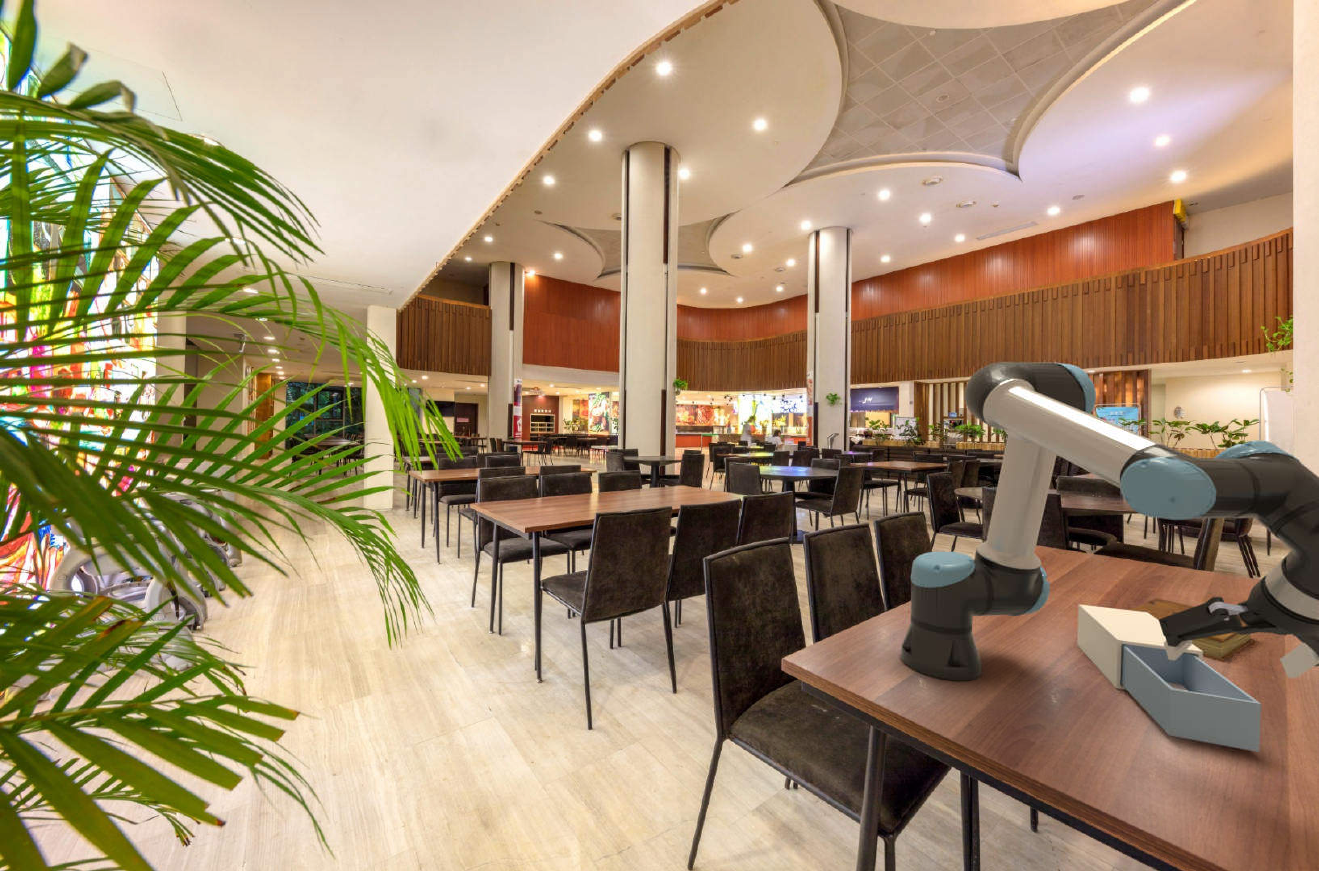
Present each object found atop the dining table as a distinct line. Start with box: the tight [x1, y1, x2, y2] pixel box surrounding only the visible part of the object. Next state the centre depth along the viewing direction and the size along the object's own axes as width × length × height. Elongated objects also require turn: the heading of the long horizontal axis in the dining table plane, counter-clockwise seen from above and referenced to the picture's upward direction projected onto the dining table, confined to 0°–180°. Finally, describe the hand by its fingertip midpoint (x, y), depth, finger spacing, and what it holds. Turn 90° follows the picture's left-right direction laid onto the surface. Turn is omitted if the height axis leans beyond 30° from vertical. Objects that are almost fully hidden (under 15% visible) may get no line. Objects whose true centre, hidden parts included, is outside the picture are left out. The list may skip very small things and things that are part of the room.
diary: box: [1128, 598, 1255, 663], centre depth 129 cm, size 23×19×6 cm
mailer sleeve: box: [1076, 604, 1204, 691], centre depth 110 cm, size 22×13×10 cm, turn 157°
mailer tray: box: [1120, 644, 1262, 753], centre depth 94 cm, size 22×11×8 cm, turn 157°
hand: (1226, 660), depth 81 cm, fingers open, 13 cm apart
